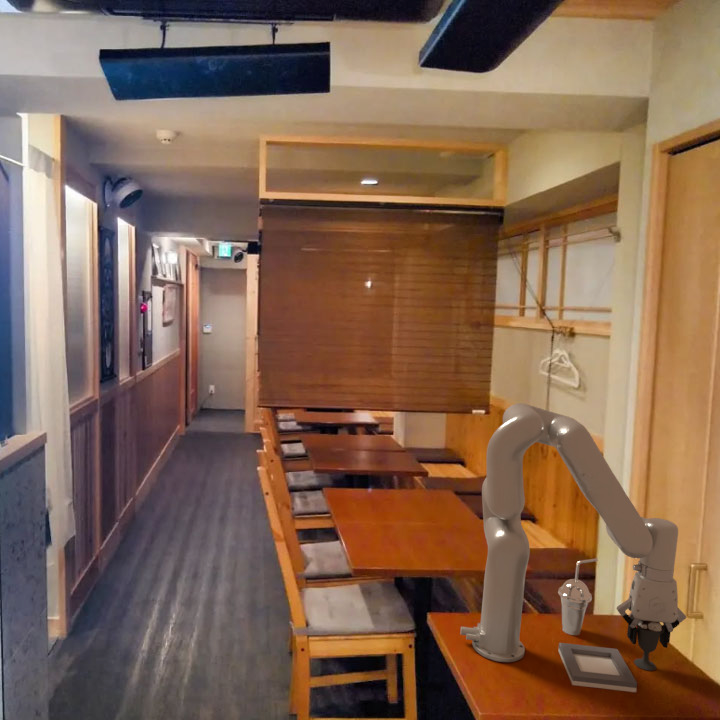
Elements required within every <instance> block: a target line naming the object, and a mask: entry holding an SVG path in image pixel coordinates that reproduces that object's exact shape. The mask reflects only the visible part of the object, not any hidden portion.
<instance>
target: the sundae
mask: <svg viewBox="0 0 720 720" xmlns="http://www.w3.org/2000/svg"><path fill="white" fill-rule="evenodd" d="M663 625H664V624H661V622H654V621H644V620H640V621H639V622H638V624H637V625H636V628H637V630H638V631H637V644H638V646H639V647H640V649H641V650H642V651H643V656H642V658H636V659H634V661H633V663H634V665H635V666H636V667H638V669H641V670H643V671H648V672H649V671H650V672H652V671H656V669H657V666H656V664H655V663H654V662H652V661H651V660H650V659H649V655H650V653H653V652H654V651H655V650H656V649H657V647H658V645H659V644H658V643H659V638H660V633H663V632H664V629H665V628H664V626H663Z"/></svg>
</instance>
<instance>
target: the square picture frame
mask: <svg viewBox="0 0 720 720" xmlns="http://www.w3.org/2000/svg"><path fill="white" fill-rule="evenodd" d="M557 652H558V654H559V655H560V658H561V662H562V664H563V665H564V668H565V670H566V673H567V675H568V678H569V680H570V683H571V685H572V686H578V687H586V688H588V687H589V688H595V689H597V688H598V689H605V690H612V691H622V692H629V693H637V687H638V682H637V679H636V678H635V677H634V675H633V674H632V672H631V670H630V669H629V666H628V665H627V663H626V661H625V660H624V657H623V656H622V654H621V653H620V651H619V650H618V648H611V647H602V646H595V645H594V646H593V645H585V644H584V645H583V644H575V643H565V642H559V643H558V651H557Z"/></svg>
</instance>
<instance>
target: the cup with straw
mask: <svg viewBox="0 0 720 720" xmlns="http://www.w3.org/2000/svg"><path fill="white" fill-rule="evenodd" d="M598 561H599V559H598V558H591V559H583V560H582V559H581V560H579V561H577V562H576V566H575V576H574V578H570V579H567V580H566V581H565V582H564V583H563V584H562V585H561V586H560V587H558V591H557V593H558V595H559V596H560V601H561V602H560V603H561V626H562V627H561V629H562V632H564V633H565V634H568V635H570V636H578V635H580V634H581V630H582V626H583V622H584V619H585V613H586V609H587V607H588V605H589V603H591V602H592V599H593V597H592V594H591V593H590V590H589V588H588V586H587V585H586V584H585V583H584V582H583V581H582V580H580V579H579V572H580V565H581V564H586V563H593V562H598Z"/></svg>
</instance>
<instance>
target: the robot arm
mask: <svg viewBox="0 0 720 720" xmlns="http://www.w3.org/2000/svg"><path fill="white" fill-rule="evenodd" d="M535 443H540V444H543V445H546V446H549V447H554V448H555V450H556V451H557V453H558V454H559V457H561V459H562V461H563V463H564V465H565V466H566V467H567V469H568V471H569V473H570V474H571V476H572V478H573V480H574V482H575V483H576V485H577V486H578V488H579V490H580V492H581V493H582V494H583V496H584V497H585V499H586V500H587V501H588V502H589V503H590V505H591V506H592V507H593V508H594V509H595V510H596V512H597V513H598V514H599V516H600V517H601V519H602V521H603V522H604V523H605V530H606V533H607V535H608V536H609V538H610V539H611V540H612V542H613V543H614V544H615V545H616V546H617V548H619V550H620V551H621V552H622V553H623V554H624V555H626V557H629V558H631V559H639V560H638V562H637V564H632V570H633V571H635V574H634V576H633V579H632V582H631V586H630V589H629V594H628V599H626V600H625V601H624V602H622V603H621V604H619V605H618V606H617V607H616V610H617V612H618V614H620V616H621V617H622V618H623V619H624V621H625V622H626V623H627V624H628V626H627V631H626V632H627V633H626V637H627V638H628V639H629V641H630V643H631V644H632V645H636V644H637V640H638V635H637V631H638V630H637V626H636V625H637V624H638V622H639V621H640V620H644V621H654V622H660V623H662V625H663V626H664V628H665V629H664V632H663V633H660V636H659V640H658V642H659V643H660V644H661V645H662V647H663V648H666V649H667V648H668V644H669V643H670V641H671V640H670V639H671V633H673V631H674V629H675V628H676V627H678V626H679V625H680V623H682V622H683V621H684V620H685V619H687V615H686V614H685V613H684V612H683V611H682V610H681V609H680V608H679V606H678V603H679V602H678V601H679V600H678V598H679V597H678V596H679V594H678V583H677V579H674V572H675V564H676V563H675V562H676V555H677V547H678V537H679V528H678V525H676V524H675V523H674V522H673V521H670V520H667V519H664V518H659V517H658V518H657V517H651V518H647V517H644V516H643V517H642V516H641V515H640V514H639V512H638V510H637V509H636V507H635V506H634V503H633V502H632V500H631V499H630V497H629V496H628V495H627V493H626V491H625V490H624V488H623V486H622V484H621V483H620V481H619V480H618V479H617V477H616V475H615V473H614V472H613V470H612V469H611V467H610V465H609V464H608V462H607V460H606V459H605V457H604V455H603V454H602V452H601V450H600V448H599V447H598V446H597V444H596V442H595V440H594V438H593V437H592V436H591V433H590V432H589V430H588V429H587V428H586V427H585V426H584V424H582V423H581V422H579V421H578V420H577V419H575V418H573V417H570V416H567V415H564V414H560V413H557V412H553V411H550V410H547V409H544V408H540V407H537V406H534V405H531V404H527V403H521V402H519V403H514V404H511V405H510V406H508V408H506V409H505V411H504V412H503V415H502V424H501V425H500V426H498V428H497V429H496V430H495V431H494V433H493V434H492V436H491V437H490V439H489V441H488V444H487V447H486V448H487V449H486V459H485V460H486V477H485V479H484V481H483V482H482V487H481V498H482V499H481V500H482V501H481V502H482V518H483V520H482V521H483V531H484V536H485V539H486V544H487V558H486V564H485V571H484V577H483V578H484V580H483V593H482V603H481V604H482V605H481V612H480V613H481V614H480V622H477V626H473V627H468V626H463V625H462V626H460V631H459V632H460V635H462V636H466V637H465V640H469V641H472V643H471V644H472V648H473V650H475V652H476V653H478V654H479V655H481V656H482V657H483V658H486V659H488V660H491V661H494V662H500V663H514V662H517V661H520V660H521V659H522V658H524V656H525V651H526V649H525V648H526V647H525V646H524V644H523V642H522V641H520V633H521V623H522V613H523V605H524V604H523V603H524V594H525V592H524V591H525V584H526V583H525V582H526V574H527V573H526V572H527V568H528V563H529V559H530V552H531V550H530V542H529V538H528V535H527V533H526V531H525V529H524V528H523V526H522V519H521V514H522V512H523V511H524V507H525V502H526V499H525V497H526V496H525V489H524V474H523V472H524V471H523V467H524V465H523V464H524V463H523V462H524V456H525V454H526V452H527V450H528V449H529V448H530V447H531V446H532V445H534V444H535ZM627 610H629V611H630V614H628V613H627Z"/></svg>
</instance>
